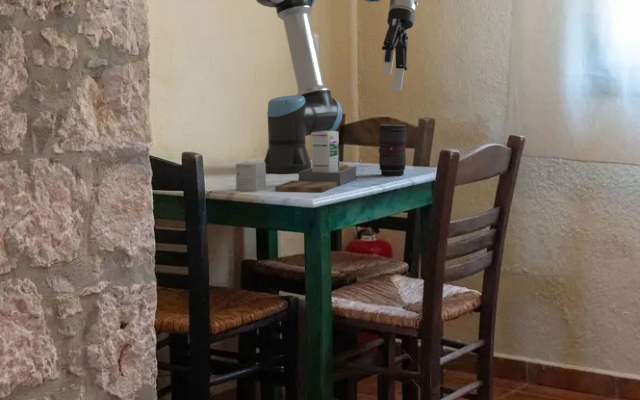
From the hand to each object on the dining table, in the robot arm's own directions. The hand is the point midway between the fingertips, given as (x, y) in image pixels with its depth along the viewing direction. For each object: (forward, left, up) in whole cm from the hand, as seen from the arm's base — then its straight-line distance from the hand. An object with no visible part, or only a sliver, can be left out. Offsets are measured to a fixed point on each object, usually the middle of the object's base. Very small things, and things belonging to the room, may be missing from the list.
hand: (391, 82), depth 266 cm
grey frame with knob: (-16, -8, -28) cm, 33 cm away
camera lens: (-2, +12, -28) cm, 30 cm away
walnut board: (-17, -24, -28) cm, 41 cm away
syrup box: (-16, -10, -28) cm, 34 cm away
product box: (-31, -29, -28) cm, 51 cm away
